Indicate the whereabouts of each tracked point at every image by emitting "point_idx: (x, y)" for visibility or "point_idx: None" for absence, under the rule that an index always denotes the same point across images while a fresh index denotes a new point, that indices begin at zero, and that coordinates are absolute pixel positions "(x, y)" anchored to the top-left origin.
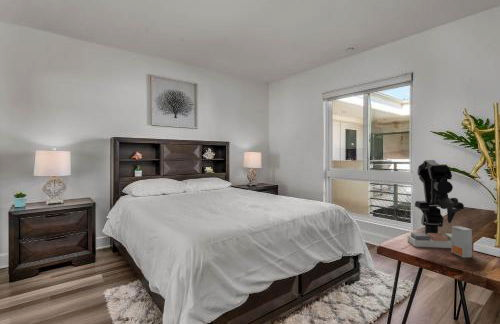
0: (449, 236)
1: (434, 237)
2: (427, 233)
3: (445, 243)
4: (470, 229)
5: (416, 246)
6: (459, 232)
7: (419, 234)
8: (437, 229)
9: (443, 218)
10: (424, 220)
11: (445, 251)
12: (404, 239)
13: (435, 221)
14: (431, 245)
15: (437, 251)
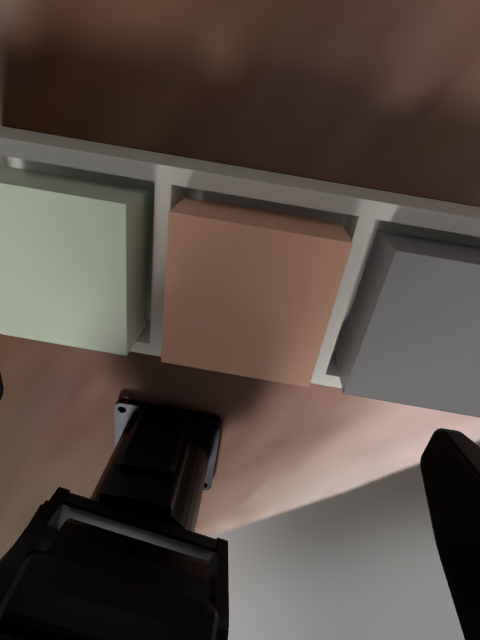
0: (125, 238)
1: (335, 237)
2: (310, 377)
3: (225, 172)
4: None
5: None
6: None
7: (465, 338)
8: (117, 468)
9: None
10: (219, 597)
11: (320, 28)
12: None
13: (112, 552)
14: (375, 192)
15: (422, 27)
